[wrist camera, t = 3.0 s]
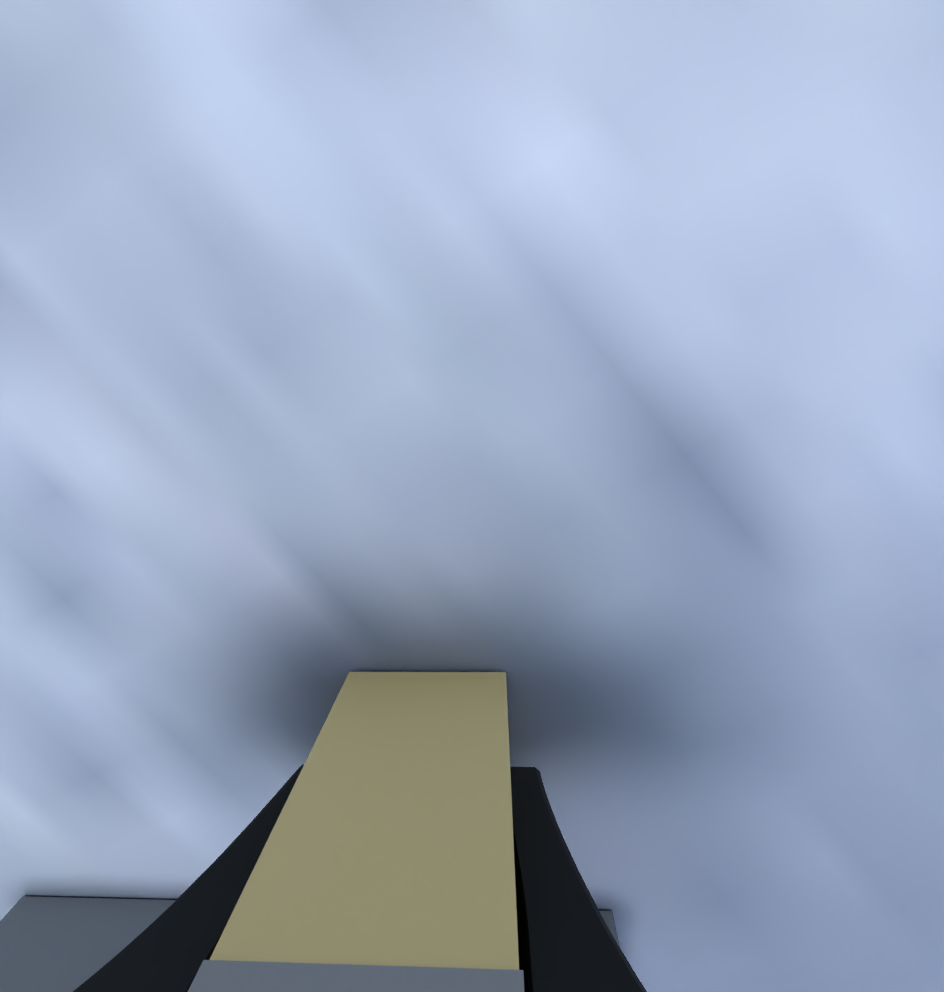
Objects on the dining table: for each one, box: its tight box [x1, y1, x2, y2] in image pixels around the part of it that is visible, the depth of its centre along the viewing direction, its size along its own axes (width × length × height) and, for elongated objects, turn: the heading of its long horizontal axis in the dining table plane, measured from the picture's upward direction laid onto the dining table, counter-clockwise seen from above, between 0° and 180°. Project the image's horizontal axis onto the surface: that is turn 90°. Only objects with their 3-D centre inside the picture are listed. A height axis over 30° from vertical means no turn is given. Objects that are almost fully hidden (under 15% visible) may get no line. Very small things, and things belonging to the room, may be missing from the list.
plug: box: [188, 672, 524, 992], centre depth 9 cm, size 4×4×7 cm
